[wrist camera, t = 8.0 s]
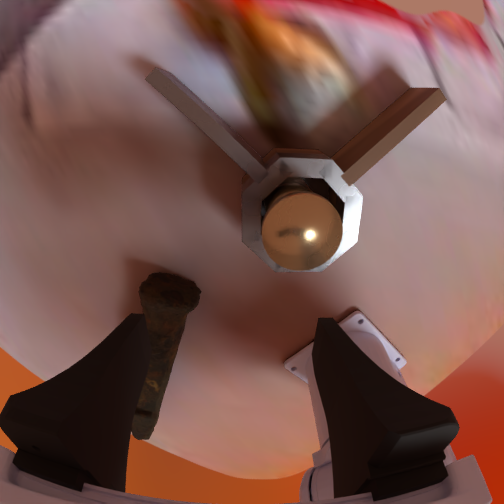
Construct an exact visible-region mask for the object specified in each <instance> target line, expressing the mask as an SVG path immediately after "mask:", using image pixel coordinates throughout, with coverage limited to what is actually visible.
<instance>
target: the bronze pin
mask: <svg viewBox="0 0 504 504" xmlns="http://www.w3.org/2000/svg"><path fill="white" fill-rule="evenodd" d="M264 204H265V210H266V214H265V215H264V218H263V221H262V228H261V233H262V241H263V245H264V248H265V250H266V252H267V254H268V255H269V257H270V258H271V259H272V260H273V261H274V262H275V263H277V264H278V265H280V266H282V267H284V268H286V269H290V270H295V271H304V270H310V269H314V268H316V267H319V266H321V265H322V264H324V263H325V262H327V261H328V260H329V259H330V258H331V257H332V256H333V255H334V254H335V253H336V251H337V249H338V248H339V246H340V243H341V240H342V235H343V226H342V221H341V218H340V215H339V214H338V212H337V210H336V209H335V208H334V207H333V205H332V204H331V203H330V202H329V201H328V200H327V199H326V198H324V197H323V196H321V195H319V194H316V193H313V192H312V190H311V189H310V188H309V186H308V185H307V184H306V182H305V181H304V180H303V179H301V178H300V177H287V178H286V179H285V180H284V181H283V182H282V183H281V184H279V185H278V186H277V187H276V188H275V189H274V190H273V191H272V192H271V193H270V194H269V195H268V196H266V197H265V198H264Z"/></svg>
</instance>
